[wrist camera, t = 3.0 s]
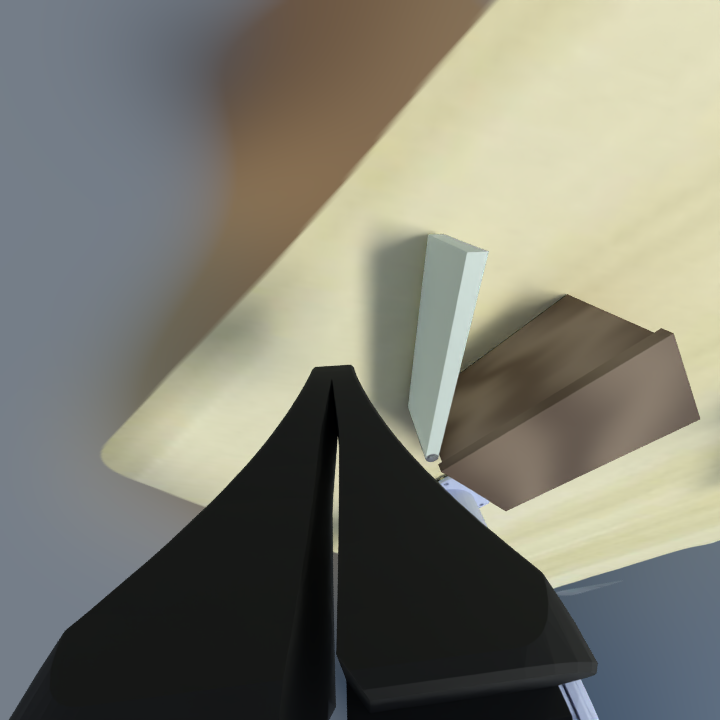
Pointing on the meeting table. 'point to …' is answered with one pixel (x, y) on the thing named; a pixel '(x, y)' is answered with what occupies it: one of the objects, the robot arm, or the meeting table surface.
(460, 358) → the cabinet door
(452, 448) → the cabinet
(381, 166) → the meeting table surface
